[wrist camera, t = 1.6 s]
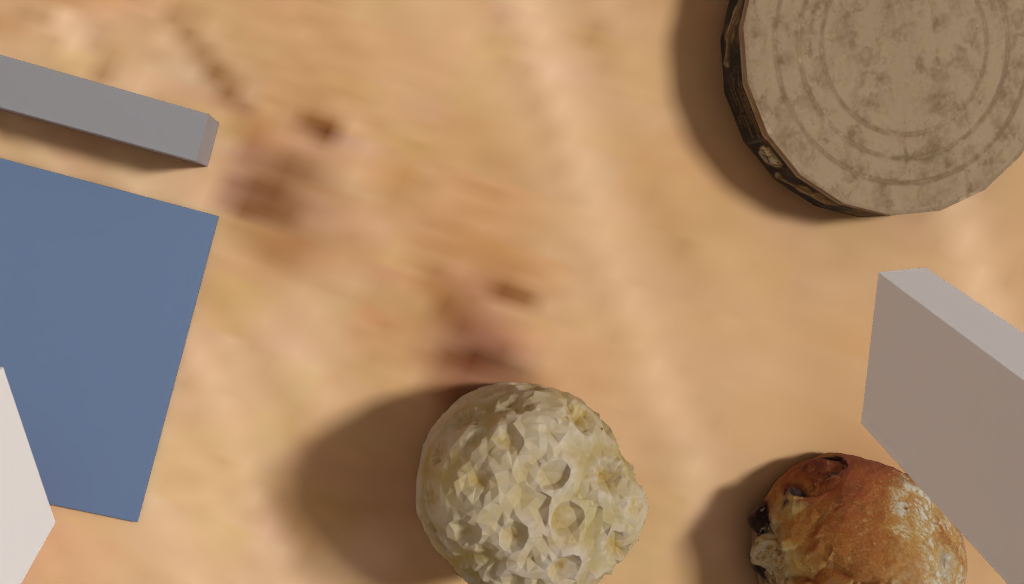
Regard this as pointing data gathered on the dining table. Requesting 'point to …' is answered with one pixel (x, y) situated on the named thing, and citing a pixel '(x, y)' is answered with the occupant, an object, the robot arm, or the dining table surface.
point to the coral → (527, 488)
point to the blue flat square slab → (94, 328)
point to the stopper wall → (105, 111)
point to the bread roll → (852, 528)
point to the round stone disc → (878, 97)
